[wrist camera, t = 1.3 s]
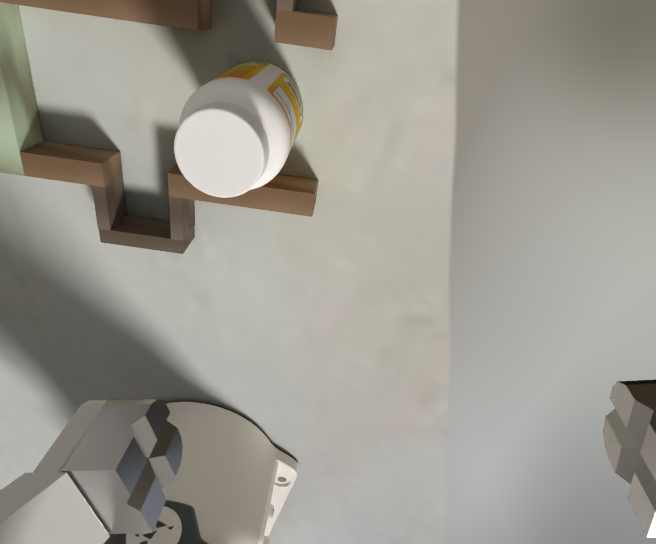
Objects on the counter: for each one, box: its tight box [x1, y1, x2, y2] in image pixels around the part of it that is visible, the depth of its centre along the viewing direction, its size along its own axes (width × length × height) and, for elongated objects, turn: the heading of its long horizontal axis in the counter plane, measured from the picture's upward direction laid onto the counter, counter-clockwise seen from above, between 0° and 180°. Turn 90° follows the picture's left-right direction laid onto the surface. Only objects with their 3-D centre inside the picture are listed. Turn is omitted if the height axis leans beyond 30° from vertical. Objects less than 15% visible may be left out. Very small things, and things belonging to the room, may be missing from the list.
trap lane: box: [0, 0, 338, 254], centre depth 27 cm, size 19×20×2 cm
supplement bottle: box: [174, 61, 303, 198], centre depth 24 cm, size 5×5×10 cm
